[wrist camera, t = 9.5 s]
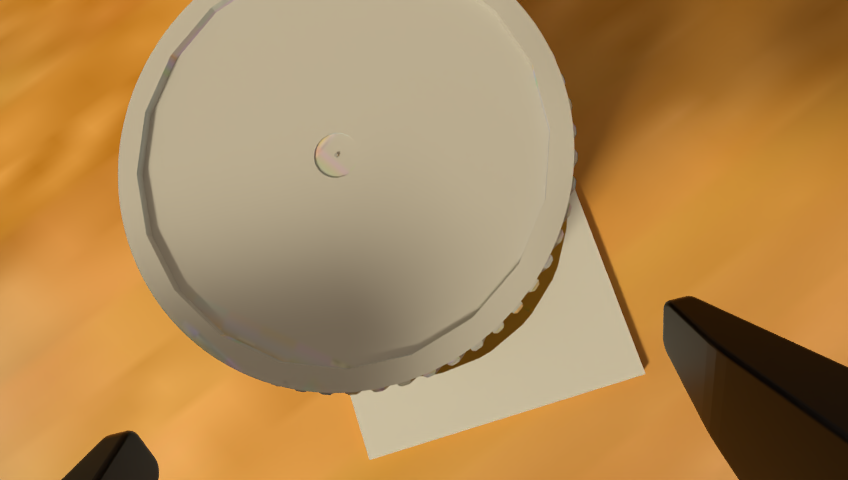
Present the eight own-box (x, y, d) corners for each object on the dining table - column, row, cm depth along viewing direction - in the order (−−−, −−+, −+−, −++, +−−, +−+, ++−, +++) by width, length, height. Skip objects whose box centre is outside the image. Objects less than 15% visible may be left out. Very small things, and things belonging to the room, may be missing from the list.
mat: (642, 372, 21) (645, 373, 20) (371, 456, 22) (369, 459, 21) (542, 109, 22) (543, 106, 22) (294, 200, 23) (291, 198, 23)
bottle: (336, 207, 23) (28, 33, 8) (493, 139, 22) (479, -188, 7) (397, 367, 22) (176, 514, 7) (564, 300, 21) (718, 302, 6)
